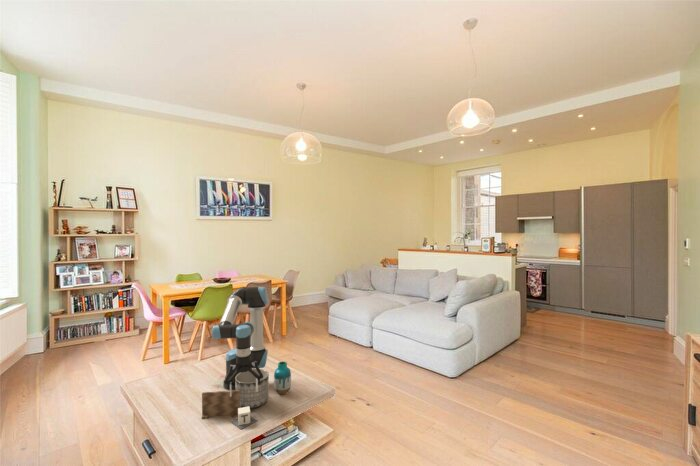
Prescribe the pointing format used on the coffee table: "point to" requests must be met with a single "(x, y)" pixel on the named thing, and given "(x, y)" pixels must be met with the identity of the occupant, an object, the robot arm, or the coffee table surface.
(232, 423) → the mat
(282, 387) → the vase
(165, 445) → the coffee table surface
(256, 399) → the planter
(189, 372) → the coffee table surface
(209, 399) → the walnut screen
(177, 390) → the coffee table surface
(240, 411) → the cream cube
